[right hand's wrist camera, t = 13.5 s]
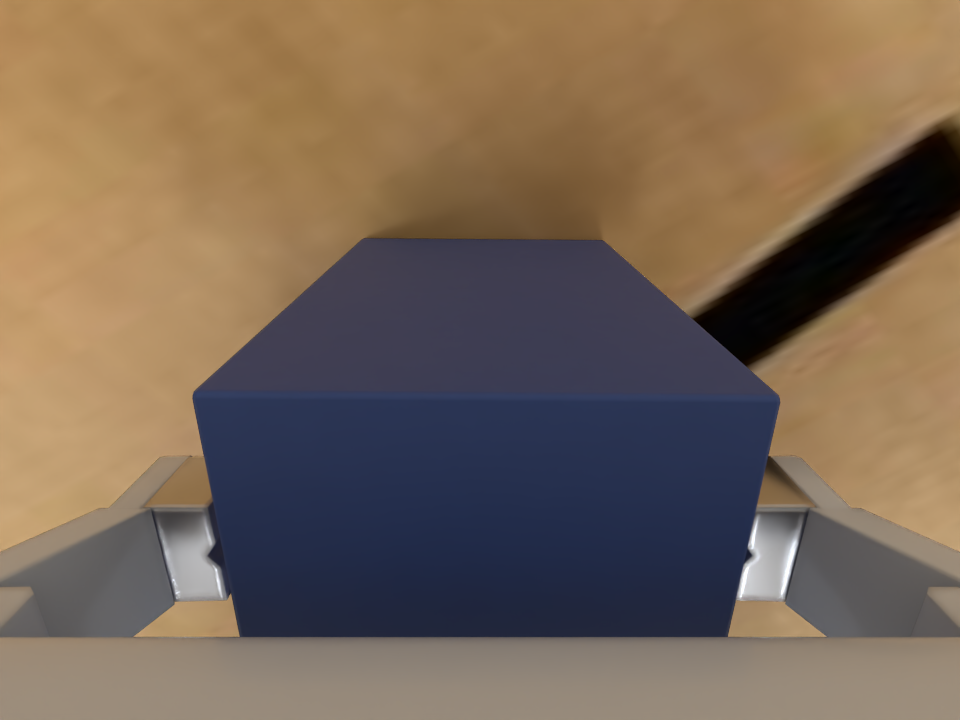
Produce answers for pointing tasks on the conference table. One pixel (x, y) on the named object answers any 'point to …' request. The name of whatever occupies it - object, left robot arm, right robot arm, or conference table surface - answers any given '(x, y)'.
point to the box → (484, 451)
